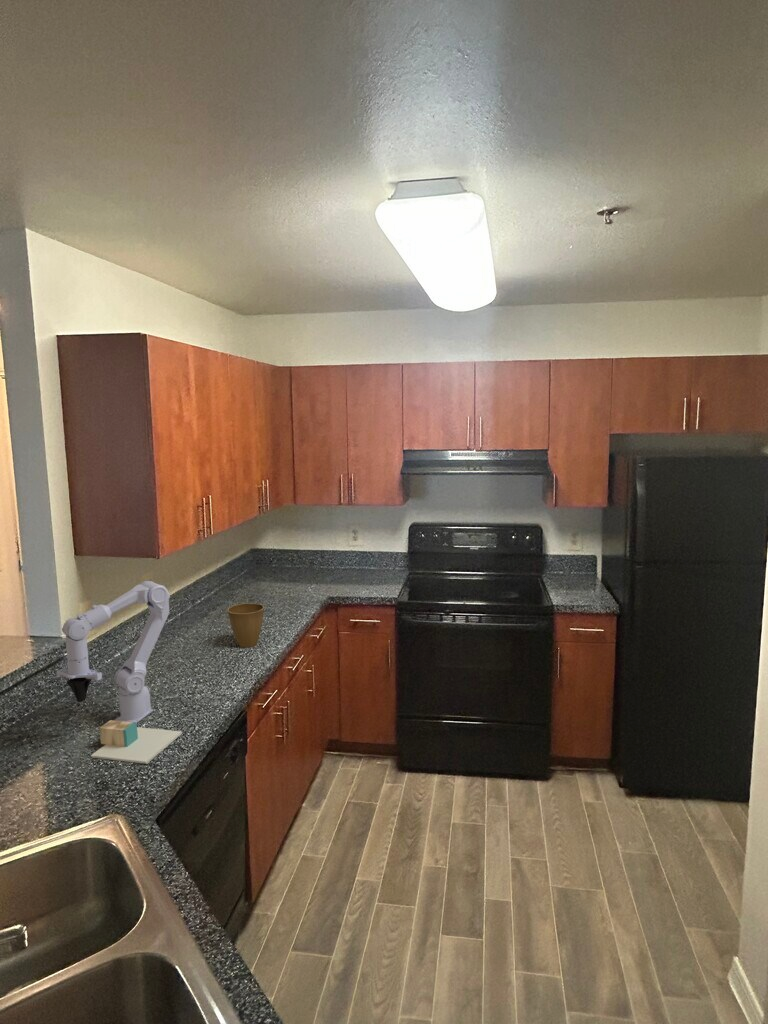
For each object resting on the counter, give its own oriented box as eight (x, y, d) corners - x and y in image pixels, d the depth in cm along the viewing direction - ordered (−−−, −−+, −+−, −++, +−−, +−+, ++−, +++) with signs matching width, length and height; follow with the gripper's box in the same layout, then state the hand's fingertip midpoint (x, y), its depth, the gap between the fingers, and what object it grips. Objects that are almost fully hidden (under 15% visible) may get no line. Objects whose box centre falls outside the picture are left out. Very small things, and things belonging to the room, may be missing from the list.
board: (130, 728, 203) (130, 726, 203) (182, 733, 199) (181, 731, 199) (90, 757, 186) (90, 755, 186) (146, 763, 181) (146, 761, 181)
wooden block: (110, 720, 197) (136, 722, 194) (111, 735, 197) (138, 738, 195) (99, 727, 192) (125, 730, 190) (100, 743, 193) (127, 746, 190)
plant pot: (223, 650, 271) (221, 612, 269) (240, 638, 285) (237, 602, 283) (257, 651, 268) (254, 613, 265) (271, 639, 282) (269, 603, 280)
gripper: (47, 660, 196) (51, 704, 198) (89, 664, 192) (92, 708, 194) (64, 652, 203) (68, 694, 205) (105, 655, 199) (108, 698, 201)
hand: (81, 700), depth 200 cm, fingers closed
